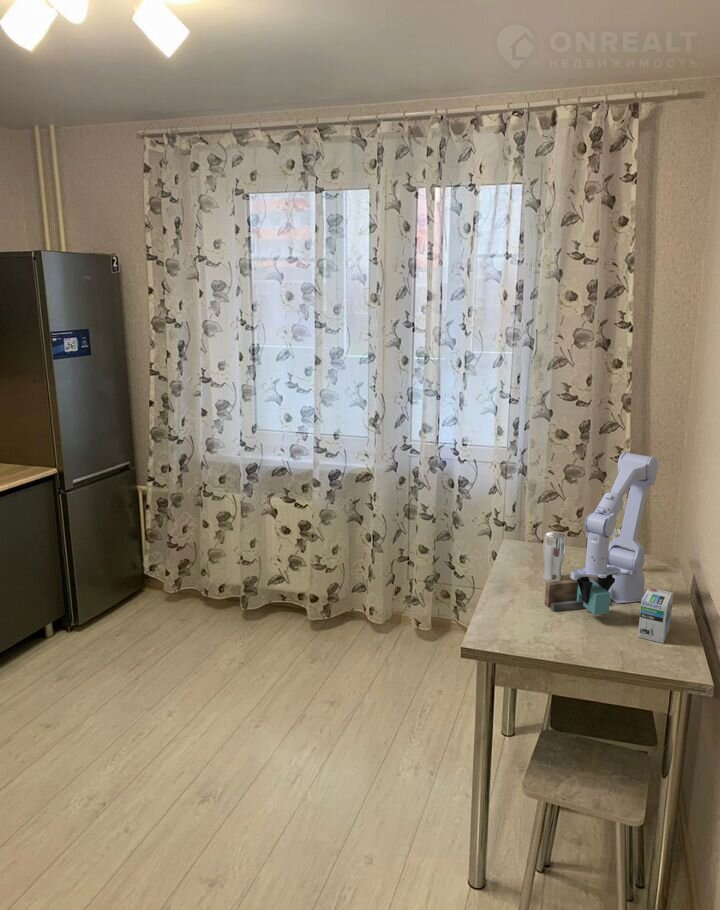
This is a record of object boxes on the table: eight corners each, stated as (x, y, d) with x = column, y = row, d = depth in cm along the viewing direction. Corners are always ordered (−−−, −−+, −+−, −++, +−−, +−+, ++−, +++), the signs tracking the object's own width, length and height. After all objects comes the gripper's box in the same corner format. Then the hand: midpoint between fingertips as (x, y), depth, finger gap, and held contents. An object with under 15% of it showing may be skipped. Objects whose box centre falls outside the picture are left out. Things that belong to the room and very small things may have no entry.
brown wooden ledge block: (598, 598, 207) (600, 576, 205) (608, 605, 202) (610, 583, 201) (544, 604, 203) (546, 582, 201) (553, 611, 198) (554, 589, 196)
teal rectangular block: (590, 598, 199) (592, 579, 198) (608, 613, 191) (610, 593, 189) (576, 600, 198) (578, 581, 197) (594, 614, 190) (596, 594, 188)
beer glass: (565, 577, 223) (569, 533, 219) (559, 584, 217) (562, 539, 214) (544, 572, 226) (547, 529, 223) (537, 579, 221) (540, 535, 217)
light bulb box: (663, 644, 180) (668, 606, 177) (636, 637, 183) (640, 600, 181) (670, 628, 188) (674, 591, 186) (644, 622, 192) (648, 586, 190)
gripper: (581, 562, 185) (578, 609, 188) (628, 558, 189) (624, 604, 192) (567, 553, 192) (564, 598, 195) (613, 549, 195) (609, 593, 198)
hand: (593, 600), depth 194 cm, fingers closed on teal rectangular block, 4 cm apart
